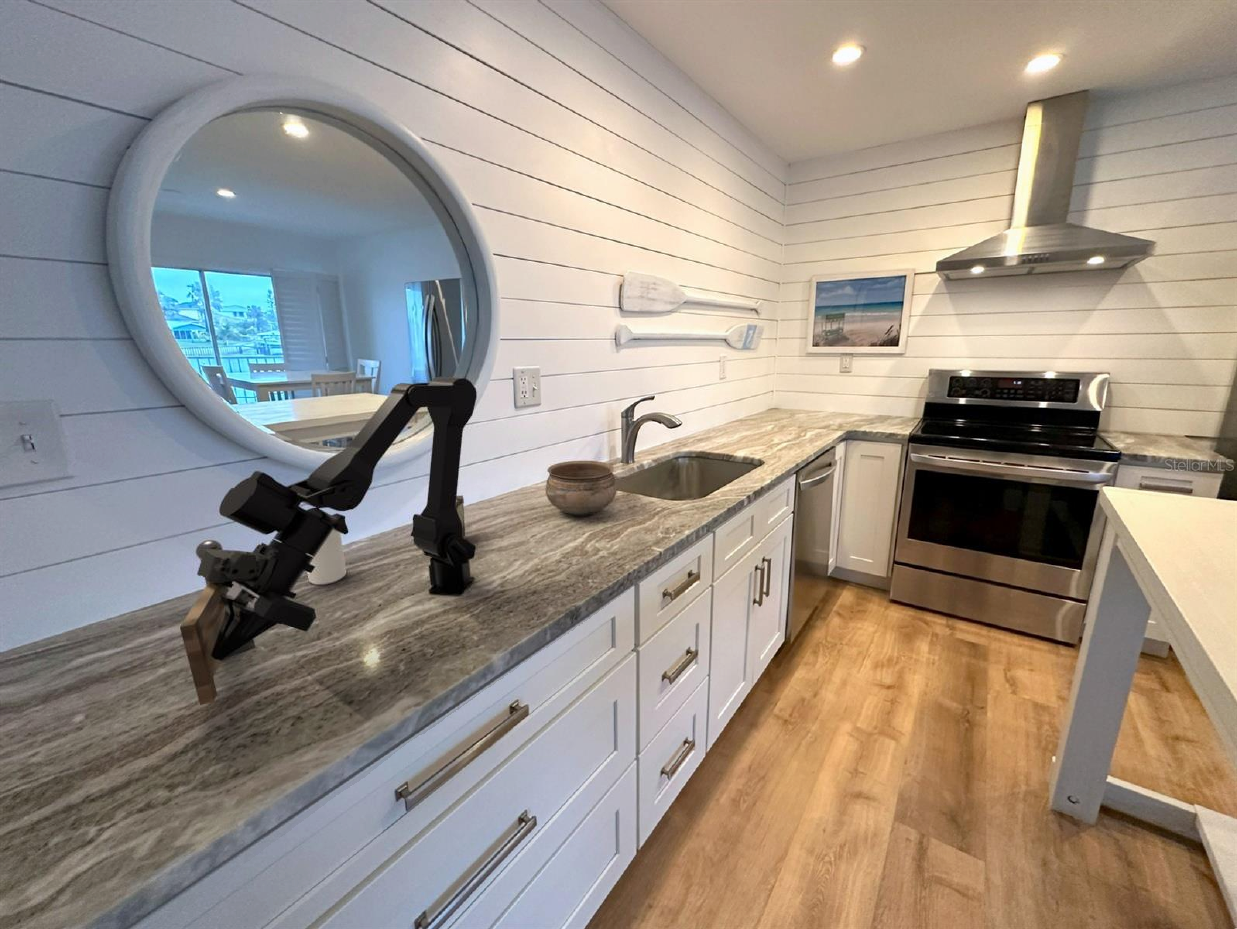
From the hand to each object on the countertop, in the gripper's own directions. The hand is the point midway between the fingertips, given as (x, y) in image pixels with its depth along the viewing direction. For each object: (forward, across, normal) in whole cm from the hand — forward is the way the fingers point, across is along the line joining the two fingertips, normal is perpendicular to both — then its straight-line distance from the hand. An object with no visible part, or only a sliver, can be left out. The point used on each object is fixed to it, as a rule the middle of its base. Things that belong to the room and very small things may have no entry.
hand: (215, 658), depth 63 cm
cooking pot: (-53, -4, +63) cm, 82 cm away
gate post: (+1, -13, +8) cm, 15 cm away
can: (-13, -24, +23) cm, 35 cm away
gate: (+2, -4, +4) cm, 7 cm away
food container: (-29, -17, +39) cm, 52 cm away
